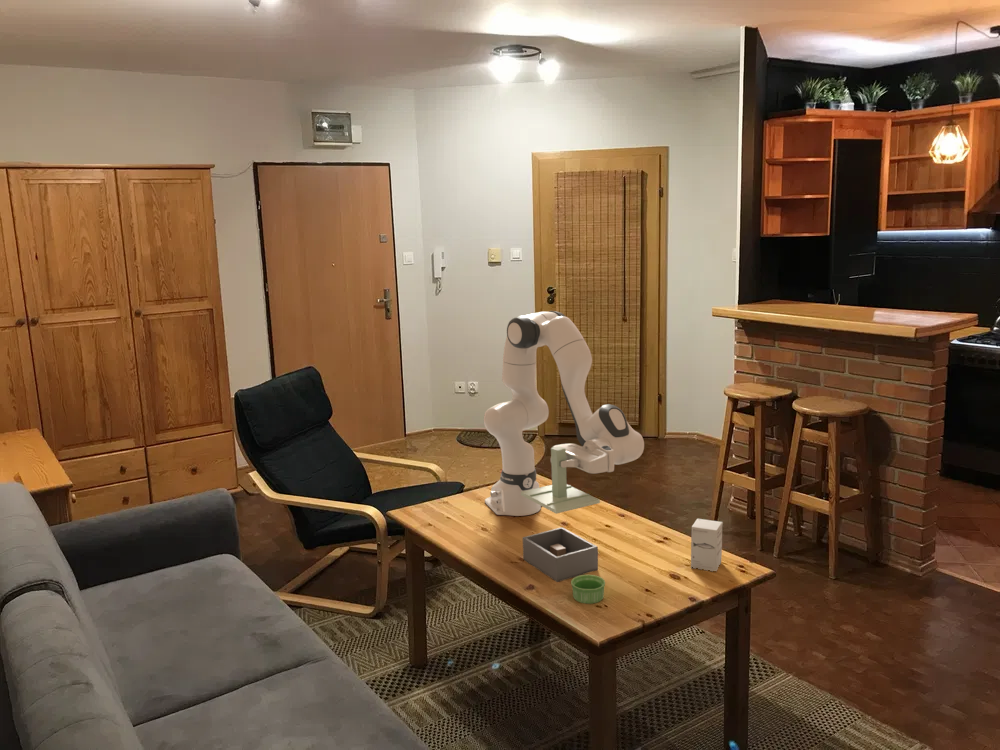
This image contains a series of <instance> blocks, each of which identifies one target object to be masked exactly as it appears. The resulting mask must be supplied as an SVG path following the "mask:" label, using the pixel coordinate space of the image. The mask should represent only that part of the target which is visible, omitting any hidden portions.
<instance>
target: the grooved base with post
mask: <svg viewBox="0 0 1000 750" xmlns="http://www.w3.org/2000/svg"><path fill="white" fill-rule="evenodd" d="M550 455H551V456H550V465H551V484H550V485H545V486H541V487H540V486H539V488H536V489H531V490H527V491H522V492H521V495H522V496H524V497H526V498H528V499H529V500H531V501H533V502H535V503H537V504H539V505H541V507H543V508H545V509H546V510H549V511H550V512H552V513H554V514H556V515H557V514H560V513H565V512H570V511H573V510H577V509H580V508H581V509H582V508H584V507H585V508H586V507H588V506H593V505H597V504H600V503H601V499H600V498H598V497H595V496H593V495H591V494H590V493H587V492H584V491H582V490H580V489H578V488H576V487H574V486H572V485H571V484H568V483H567V467H564V468H562V467H560V466H559V461H560V460H566V449H565V448H563V447H560V446H559V447H554V448H552V447H551V448H550Z"/></svg>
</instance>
